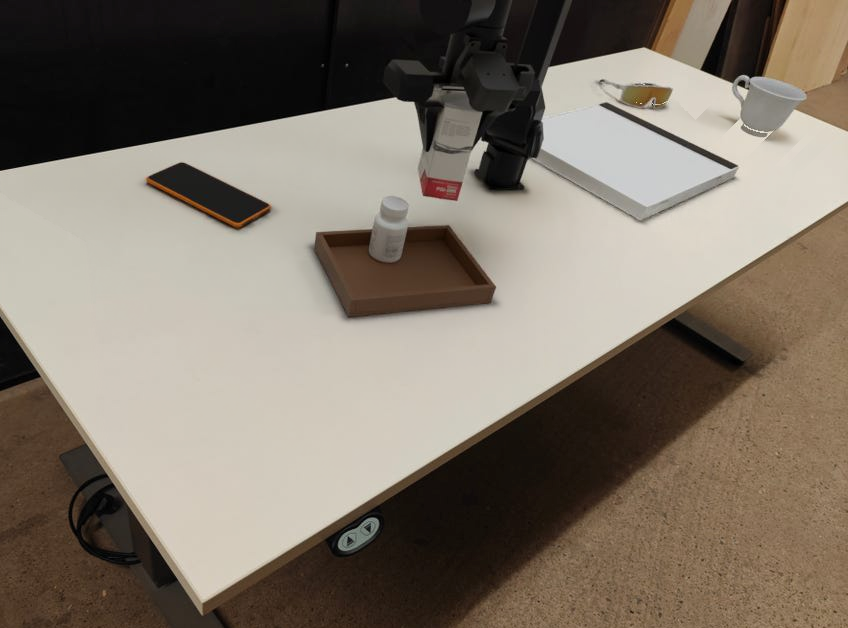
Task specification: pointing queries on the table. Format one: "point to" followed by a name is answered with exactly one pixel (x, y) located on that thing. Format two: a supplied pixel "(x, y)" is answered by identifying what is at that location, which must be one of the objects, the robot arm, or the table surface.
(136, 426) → the table surface
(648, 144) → the white flat slab
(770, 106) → the teacup
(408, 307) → the tray
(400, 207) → the pill bottle
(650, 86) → the sunglasses
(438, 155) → the ink box
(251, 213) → the smartphone
